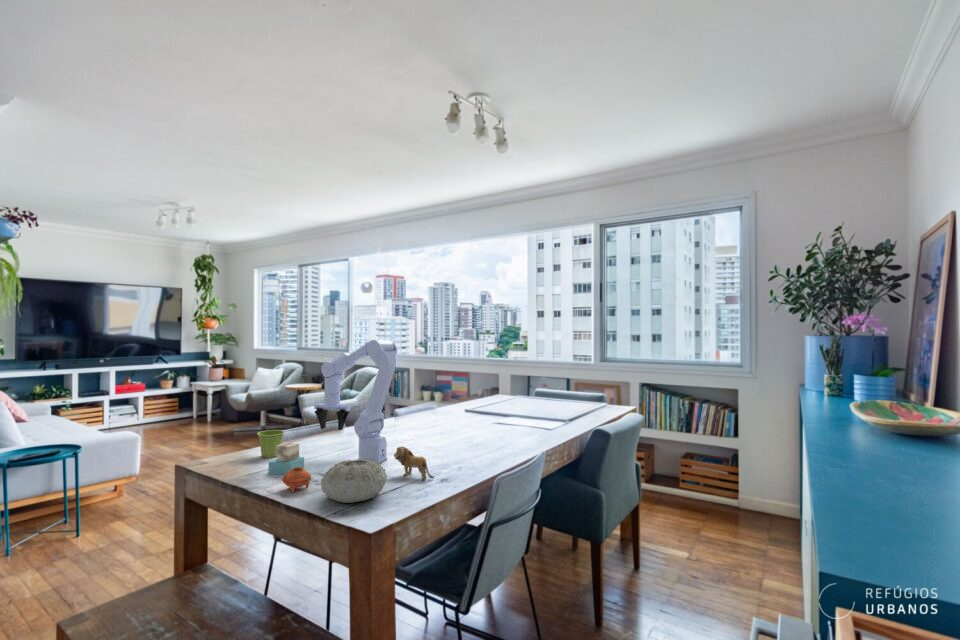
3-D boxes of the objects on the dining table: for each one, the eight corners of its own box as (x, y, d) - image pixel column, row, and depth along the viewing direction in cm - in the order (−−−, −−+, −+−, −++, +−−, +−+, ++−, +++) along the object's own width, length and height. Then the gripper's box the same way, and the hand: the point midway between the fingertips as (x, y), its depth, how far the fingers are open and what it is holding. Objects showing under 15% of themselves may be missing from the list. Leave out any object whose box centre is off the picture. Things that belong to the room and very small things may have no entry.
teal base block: (303, 468, 162) (304, 457, 162) (291, 475, 154) (291, 463, 154) (282, 467, 163) (282, 455, 164) (268, 474, 156) (268, 462, 156)
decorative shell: (307, 500, 131) (307, 464, 131) (355, 483, 146) (355, 450, 146) (353, 514, 122) (354, 474, 122) (399, 494, 137) (400, 459, 137)
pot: (308, 481, 146) (309, 461, 145) (311, 495, 140) (313, 474, 138) (280, 484, 143) (281, 463, 142) (282, 498, 136) (283, 477, 135)
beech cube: (299, 458, 161) (299, 443, 161) (288, 462, 156) (288, 446, 156) (287, 456, 162) (287, 442, 162) (276, 460, 158) (276, 445, 158)
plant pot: (285, 451, 183) (285, 429, 183) (283, 458, 174) (283, 434, 175) (258, 453, 180) (258, 430, 181) (255, 460, 171) (255, 435, 172)
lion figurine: (391, 475, 154) (391, 447, 155) (401, 471, 159) (401, 444, 159) (429, 482, 148) (429, 453, 148) (438, 477, 152) (438, 449, 153)
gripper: (309, 393, 179) (308, 429, 179) (343, 395, 175) (342, 432, 175) (320, 391, 186) (320, 426, 186) (353, 392, 182) (353, 428, 182)
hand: (331, 429), depth 181 cm, fingers open, 7 cm apart
